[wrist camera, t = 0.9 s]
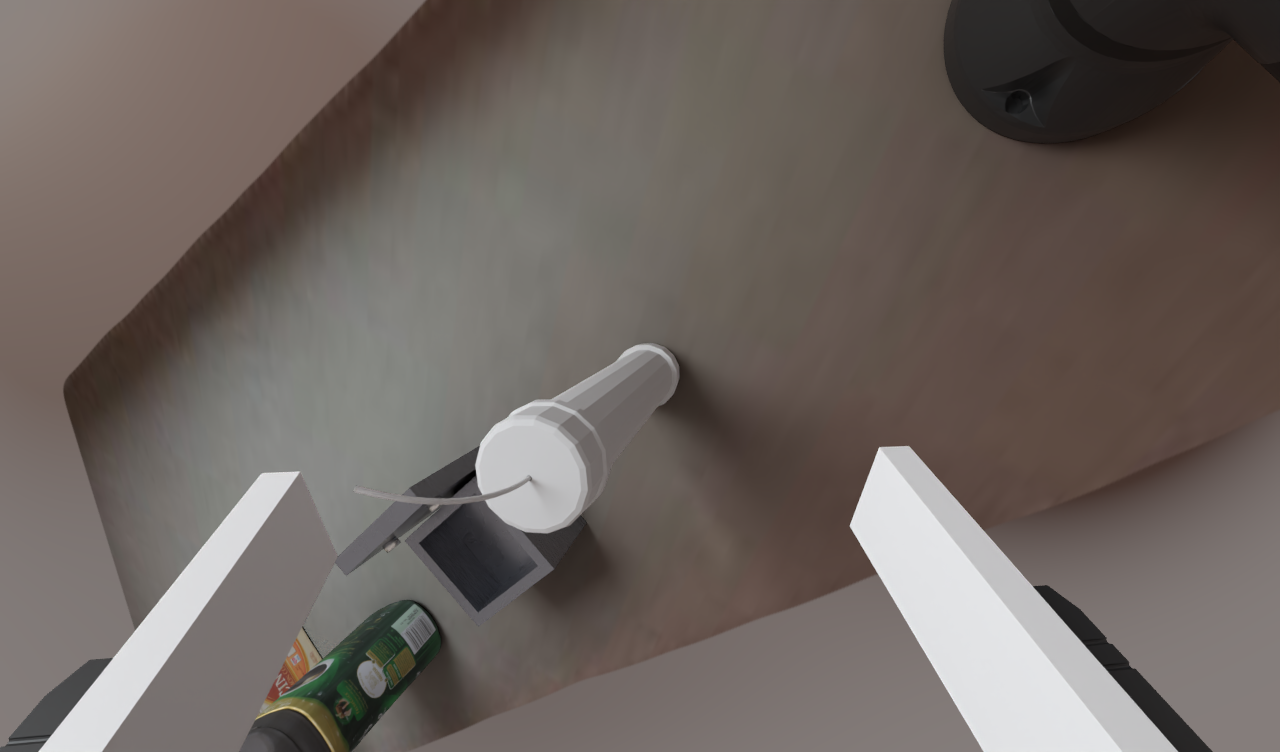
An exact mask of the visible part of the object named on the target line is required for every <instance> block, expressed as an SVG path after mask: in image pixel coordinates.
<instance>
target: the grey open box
mask: <svg viewBox="0 0 1280 752" xmlns="http://www.w3.org/2000/svg"><path fill="white" fill-rule="evenodd" d="M479 448H480V446H479V447H477V448H475V449H474V450H472V451H470V452H469V453H467V454H465V455H464V456H462V457H460V458H459V459H457V460H455V461H454V462H452V463H450V464H449V465H447V466H445V467H444V468H442V469H440V470H439V471H437V472H435V473H434V474H432V475H430V476H429V477H427V478H425V479H423V480H422V481H420V482H418V483H417V484H415V485H413V486H412V487H410V488H409V489H408V490H407V491H406V492H405V493H404V494H403V495H404V496H411V497H422V498H446V499H447V498H464V497H472V496H479V495H482V493H481V491H480V489H479V487H478V482H477V474H476V467H475V464H476V460H477V456H478V452H479ZM439 508H440V509H439ZM438 509H439V510H438ZM437 510H438V511H437ZM435 511H437V512H435ZM434 512H435V513H434ZM432 513H434V514H433V515H432V516H431V517H430V518H429V519H428V520H427V521H426V522H424V523H423V524H422V525H421V526H420V527H419V528H418V529H417V530H416V531H415V532H413V533H412V534H411V535H410V536H409V537H408V538H407V539H406V540H405V542H406V543H407V544H408V545H409V546H410V547H411V549H412V550H413V551H414V552H415V553H416V554H417V556H418V557H419V558H420V559H421V560H422V561H423V563H424V564H425V565H426V566H427V567H428V568H429V570H430V571H431V572H432V573H433V574H434V575H435V577H436V578H437V579H438V580H439V581H440V582H441V584H442V585H443V586H444V587H445V588H446V589H447V591H448V592H449V593H450V594H451V595H452V596H453V598H454V599H455V600H456V601H457V602H458V603H459V605H460V606H461V607H462V608H463V609H464V611H465V612H466V613H467V614H468V615H469V616H470V618H471V619H472V620H473V621H474V622H475V623H476V625H477V626H478V627H479V626H480V625H481V624H483V623H484V622H485V621H487V620H488V619H489V618H490V617H492V616H493V615H494V614H496V613H497V612H498V611H500V610H501V609H502V608H504V607H505V606H506V605H508V604H509V603H510V602H512V601H513V600H514V599H515V598H517V597H518V596H519V595H521V594H522V593H523V592H525V591H526V590H527V589H529V588H530V587H531V586H533V585H534V584H535V583H537V582H538V581H539V580H541V579H542V578H543V577H544V576H546V575H547V574H548V573H550V572H551V571H552V570H554V569H555V567H556V566H557V564H558V563H559V562H560V560H561V559H562V557H563V556H564V554H565V553H566V552H567V550H568V549H569V547H570V546H571V544H572V543H573V542H574V540H575V539H576V537H577V536H578V534H579V533H580V532H581V530H582V529H583V527H584V526H585V524H586V523H587V522H586V521H585V520H584V519H583V518H582V516H581V515H580V516H579V517H578V518H577V519H576V520H575V521H574V522H573V523H572V524H571V525H570V526H567V527H564V528H562V529H559V530H556V531H553V532H551V533H532V532H524V531H522V530H520V529H518V528H516V527H513V526H511V525H509V524H507V523H505V522H504V521H503V520H502V519H501V518H500V517H499V516H498V515H497V514H496V513H494V512H493V511H492V510H491V509H490V508H489V507H488V505H487V503H486V501H485V500H483V501H478V502H471V503H464V504H451V505H428V504H416V503H406V502H399V501H395V502H394V503H393V504H392V505H391V506H390V507H389V508H388V509H387V510H386V511H385V512H384V513H383V514H382V515H381V516H380V517H379V518H378V519H377V520H375V521H374V522H373V523H372V524H371V525H370V526H369V527H368V528H367V529H366V530H365V531H364V532H363V533H362V534H361V535H360V536H359V537H358V538H357V539H356V540H355V541H354V542H353V543H352V544H350V545H349V546H348V547H347V548H346V549H345V550H344V551H343V552H342V553H341V554H340V555H339V556H338V557H337V559H336V561H335V563H336V564H337V566H338V567H339V568H340V569H341V570H342V571H343V573H344V574H345V575H348V574H349V573H351V572H352V571H353V570H355V569H356V568H358V567H359V566H360V565H362V564H363V563H365V562H366V561H367V560H369V559H370V558H371V557H373V556H374V555H376V554H377V553H378V552H380V551H381V550H383V549H384V550H385V551H386V552H387V553H388V552H390V551H391V550H392V549H394V548H395V547H396V546H397V545H398V544H399V543H400V541H399V539H398V538H399V537H401V536H402V535H403V534H405V533H406V532H408V531H409V530H410V529H412V528H413V527H414V526H416V525H417V524H419V523H420V522H421V521H423V520H424V519H426V518H427V517H428V516H430V515H431V514H432Z"/></svg>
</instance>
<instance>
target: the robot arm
mask: <svg viewBox="0 0 1280 752" xmlns="http://www.w3.org/2000/svg"><path fill="white" fill-rule="evenodd" d="M1233 39H1234V40H1235V41H1236V42H1237V43H1238V44H1239V45H1240V46H1241V47H1242V48H1243V49H1244V50H1246V51H1247V52H1248V53H1249V54H1250V55H1251V56H1252V57H1253V58H1254V59H1255V60H1256V61H1257V62H1258V63H1260V64H1261V65H1262V66H1263V67H1264V68H1265V69H1266V70H1267V71H1268V72H1269V73H1271V74H1272V75H1273V76H1274V77H1275V78H1276V79H1277V80H1278V81H1279V82H1280V0H952V2H951V5H950V8H949V12H948V16H947V20H946V25H945V33H944V58H945V65H946V70H947V74H948V77H949V80H950V83H951V85H952V88H953V90H954V92H955V94H956V96H957V97H958V99H959V100H960V102H961V104H962V105H963V106H964V107H965V109H966V110H967V111H968V112H969V113H970V114H971V115H972V116H973V117H974V118H975V119H976V120H978V121H979V122H980V123H981V124H983V125H984V126H986V127H987V128H989V129H991V130H992V131H994V132H996V133H999V134H1001V135H1003V136H1006V137H1009V138H1012V139H1015V140H1020V141H1025V142H1032V143H1062V142H1069V141H1075V140H1079V139H1083V138H1087V137H1091V136H1094V135H1097V134H1100V133H1102V132H1105V131H1107V130H1110V129H1112V128H1114V127H1117V126H1119V125H1121V124H1124V123H1126V122H1128V121H1131V120H1133V119H1135V118H1137V117H1139V116H1141V115H1143V114H1145V113H1146V112H1148V111H1150V110H1152V109H1153V108H1155V107H1156V106H1158V105H1160V104H1161V103H1163V102H1164V101H1166V100H1167V99H1168V98H1170V97H1171V96H1173V95H1174V94H1175V93H1177V92H1178V91H1179V90H1181V89H1182V88H1183V87H1184V86H1185V85H1186V84H1188V83H1189V82H1190V81H1191V80H1192V79H1193V78H1194V77H1195V76H1196V75H1197V74H1198V73H1199V72H1200V71H1201V70H1202V69H1203V68H1204V67H1205V66H1206V64H1207V63H1209V62H1210V61H1211V60H1212V59H1213V58H1214V57H1215V56H1216V55H1217V54H1218V53H1219V52H1220V51H1221V50H1222V49H1223V48H1224V47H1225V46H1226V45H1227V44H1228V43H1229V42H1231V41H1232V40H1233ZM850 527H851V529H852V531H853V532H854V534H855V536H856V537H857V539H858V541H859V542H860V544H861V546H862V548H863V549H864V551H865V553H866V554H867V556H868V558H869V559H870V561H871V563H872V564H873V566H874V568H875V569H876V571H877V573H878V574H879V576H880V578H881V579H882V581H883V583H884V584H885V586H886V588H887V590H888V591H889V593H890V595H891V596H892V598H893V600H894V601H895V603H896V605H897V606H898V608H899V610H900V611H901V613H902V615H903V617H904V618H905V620H906V621H907V623H908V625H909V627H910V628H911V630H912V632H913V633H914V635H915V637H916V638H917V640H918V642H919V643H920V645H921V647H922V648H923V650H924V652H925V654H926V655H927V657H928V659H929V660H930V662H931V664H932V665H933V667H934V669H935V670H936V672H937V674H938V676H939V677H940V679H941V681H942V682H943V684H944V686H945V687H946V689H947V691H948V692H949V694H950V696H951V697H952V699H953V701H954V702H955V704H956V706H957V707H958V709H959V711H960V713H961V714H962V716H963V718H964V719H965V721H966V723H967V724H968V726H969V728H970V729H971V731H972V733H973V734H974V736H975V738H976V739H977V741H978V743H979V745H980V746H981V748H982V750H983V751H984V752H1212V751H1211V749H1210V748H1208V746H1207V745H1206V744H1205V743H1204V742H1203V741H1202V740H1201V739H1200V738H1199V737H1198V736H1197V735H1196V733H1195V732H1194V731H1193V730H1192V729H1191V728H1190V727H1189V726H1188V725H1187V724H1186V723H1185V722H1184V721H1183V719H1182V718H1181V717H1180V716H1179V715H1178V714H1177V713H1176V712H1175V711H1174V710H1173V709H1172V708H1171V707H1170V705H1168V703H1167V702H1166V701H1165V700H1164V699H1163V698H1162V697H1161V696H1160V695H1159V694H1158V693H1157V692H1156V690H1154V689H1153V687H1152V686H1151V685H1150V684H1149V683H1148V682H1147V681H1146V680H1145V679H1144V678H1143V677H1142V676H1141V675H1140V673H1139V672H1138V671H1137V670H1136V669H1132V668H1131V667H1130V666H1129V662H1128V660H1127V659H1126V658H1125V657H1124V656H1123V655H1122V654H1121V653H1120V652H1119V651H1118V650H1117V649H1116V648H1115V647H1114V645H1113V644H1109V643H1108V642H1107V640H1106V637H1105V636H1104V635H1103V634H1102V633H1101V631H1100V630H1099V629H1098V628H1097V627H1096V626H1095V625H1094V624H1093V623H1092V622H1091V621H1090V620H1089V619H1088V617H1087V616H1086V615H1085V614H1084V613H1083V612H1082V611H1081V610H1080V609H1079V608H1077V607H1076V606H1075V605H1073V604H1072V603H1071V602H1069V601H1068V600H1066V599H1065V598H1064V597H1062V596H1061V595H1060V594H1058V593H1057V592H1056V591H1054V590H1053V589H1052V588H1050V587H1049V586H1047V585H1045V586H1032V585H1031V584H1030V583H1029V582H1028V581H1027V580H1026V579H1025V577H1024V576H1023V575H1022V574H1021V573H1020V572H1019V570H1018V569H1017V568H1016V567H1015V566H1014V565H1013V564H1012V562H1011V561H1010V560H1009V559H1008V558H1007V557H1006V556H1005V555H1004V553H1003V552H1002V551H1001V550H1000V549H999V548H998V547H997V545H996V544H995V543H994V542H993V541H992V540H991V539H990V538H989V536H988V535H987V534H986V533H985V532H984V531H983V530H982V528H981V527H980V526H979V525H978V524H977V523H976V522H975V520H974V519H973V518H972V517H971V516H970V515H969V514H968V513H967V511H966V510H965V509H964V508H963V507H962V506H961V505H960V503H959V502H958V501H957V500H956V499H955V498H954V497H953V496H952V494H951V493H950V492H949V491H948V490H947V489H946V488H945V486H944V485H943V484H942V483H941V482H940V481H939V480H938V478H937V477H936V476H935V475H934V474H933V473H932V472H931V471H930V469H929V468H928V467H927V466H926V465H925V464H924V463H923V461H922V460H921V459H920V458H919V457H918V456H917V455H916V454H915V452H914V451H913V450H912V449H911V448H910V447H909V446H898V447H879V449H878V452H877V455H876V457H875V460H874V463H873V465H872V468H871V471H870V473H869V476H868V479H867V481H866V484H865V487H864V489H863V492H862V495H861V497H860V500H859V503H858V505H857V508H856V510H855V513H854V516H853V518H852V521H851V524H850ZM337 557H338V556H337V553H336V551H335V549H334V547H333V544H332V542H331V540H330V538H329V535H328V533H327V531H326V529H325V526H324V524H323V522H322V520H321V517H320V515H319V513H318V511H317V508H316V506H315V504H314V501H313V499H312V497H311V495H310V492H309V490H308V488H307V486H306V483H305V481H304V479H303V477H302V474H301V472H278V473H262V474H261V475H260V476H259V477H258V479H257V480H256V481H255V482H254V484H253V485H252V486H251V487H250V488H249V490H248V491H247V492H246V493H245V495H244V496H243V497H242V498H241V500H240V501H239V502H238V503H237V505H236V506H235V507H234V508H233V510H232V511H231V512H230V513H229V515H228V516H227V517H226V518H225V520H224V521H223V522H222V523H221V525H220V526H219V527H218V528H217V530H216V531H215V532H214V533H213V535H212V536H211V537H210V538H209V540H208V541H207V542H206V543H205V545H204V546H203V547H202V548H201V550H200V551H199V552H198V553H197V555H196V556H195V557H194V558H193V560H192V561H191V562H190V563H189V565H188V566H187V567H186V568H185V570H184V571H183V572H182V573H181V575H180V576H179V577H178V578H177V580H176V581H175V582H174V583H173V585H172V586H171V587H170V588H169V589H168V591H167V592H166V593H165V594H164V596H163V597H162V598H161V599H160V601H159V602H158V603H157V604H156V606H155V607H154V608H153V609H152V611H151V612H150V613H149V614H148V616H147V617H146V618H145V619H144V621H143V622H142V623H141V624H140V626H139V627H138V628H137V629H136V631H135V632H134V633H133V634H132V636H131V637H130V638H129V639H128V641H127V642H126V643H125V645H124V646H123V647H122V648H121V649H120V651H119V652H118V653H117V655H116V656H115V657H114V658H109V659H96V660H89V661H88V662H87V663H86V664H84V665H83V666H82V667H80V668H79V669H78V670H77V671H75V672H74V673H73V674H72V675H70V676H69V677H68V678H67V679H66V680H64V682H62V683H61V684H60V685H58V686H57V687H56V688H54V689H53V690H52V691H51V692H49V693H48V694H47V695H46V696H45V697H44V698H43V699H42V700H41V701H40V703H39V704H38V705H37V706H36V707H35V708H34V709H33V711H32V712H31V713H30V714H29V715H28V716H27V718H26V719H25V720H24V721H23V722H22V723H21V725H20V726H19V727H18V728H17V729H16V730H15V731H14V733H13V734H12V735H11V736H10V737H9V742H8V744H7V745H6V746H5V747H1V748H0V752H239V751H240V749H241V747H242V745H243V743H244V741H245V739H246V737H247V735H248V733H249V731H250V729H251V727H252V725H253V723H254V721H255V719H256V717H257V715H258V713H259V711H260V709H261V707H262V705H263V703H264V701H265V699H266V697H267V695H268V693H269V691H270V689H271V687H272V685H273V683H274V681H275V680H276V678H277V676H278V674H279V672H280V670H281V668H282V666H283V664H284V662H285V660H286V658H287V656H288V654H289V652H290V650H291V648H292V646H293V644H294V642H295V640H296V638H297V636H298V634H299V632H300V630H301V628H302V626H303V624H304V622H305V620H306V618H307V616H308V614H309V612H310V610H311V608H312V606H313V604H314V602H315V600H316V598H317V596H318V595H319V593H320V591H321V589H322V587H323V585H324V583H325V581H326V579H327V577H328V575H329V573H330V571H331V569H332V567H333V565H334V563H335V561H336V559H337Z"/></svg>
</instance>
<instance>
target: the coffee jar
mask: <svg viewBox="0 0 1280 752" xmlns="http://www.w3.org/2000/svg"><path fill="white" fill-rule="evenodd" d="M440 647H441V638H440V634H439V632H438V628H437V626H436V624H435V622H434V620H433V619H432V617H431V616H430V614H429V613H428V612H427V611H426V610H424V609H423V608H422V607H421V606H420V605H419V604H417V603H415V602H413V601H411V600H403V601H399V602H396V603H393V604H390V605H388V606H386V607H384V608H382V609H380V610H378V611H377V612H375V613H374V614H372V615H371V616H370V617H368V618H367V619H366V620H365V621H364V622H363V623H362V624H361V625H359V626H358V627H357V628H356V629H355V630H354V631H353V632H352V633H351V634H350V635H349V636H347V637H346V638H345V639H344V640H343V641H342V642H341V643H340V644H339V645H338V646H337V647H335V648H334V649H333V650H332V651H331V652H330V653H329V654H328V655H327V656H325V657H324V658H323V659H322V660H321V661H320V662H319V663H317V664H316V665H315V666H314V667H313V668H312V669H311V670H310V671H308V672H307V673H306V674H305V675H304V676H303V677H302V678H301V679H300V680H298V681H297V682H296V683H295V684H294V685H293V686H292V687H290V688H289V689H288V690H287V691H286V692H285V693H284V694H282V695H281V696H280V697H279V698H278V699H277V700H276V701H274V702H273V703H272V704H271V705H270V706H269V707H267V708H266V709H265V710H264V711H263V712H262V713H261V714H259V715H258V716H257V717H256V719H255V721H254V723H253V725H252V727H251V729H250V731H249V733H248V735H247V737H246V739H245V741H244V743H243V745H242V747H241V749H240V751H239V752H352V751H353V750H354V749H355V747H356V746H357V745H358V744H359V743H360V741H361V740H362V739H363V738H364V737H365V736H366V734H367V733H368V732H369V731H370V730H371V729H372V727H373V726H374V725H375V724H376V723H377V722H378V720H379V719H380V718H381V717H382V716H383V715H384V713H385V712H386V711H387V710H388V709H389V708H390V707H391V705H392V704H393V703H394V702H395V701H396V700H397V699H398V697H399V696H400V695H401V694H402V693H403V692H404V691H405V690H406V688H407V687H408V686H409V685H410V684H411V683H412V682H413V681H414V680H415V679H416V677H417V676H418V675H419V674H420V673H421V672H422V671H423V670H424V668H425V667H426V666H427V665H428V664H429V663H430V662H431V660H432V659H433V658H434V657H435V656H436V655H437V653H438V652H439V650H440Z"/></svg>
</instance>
